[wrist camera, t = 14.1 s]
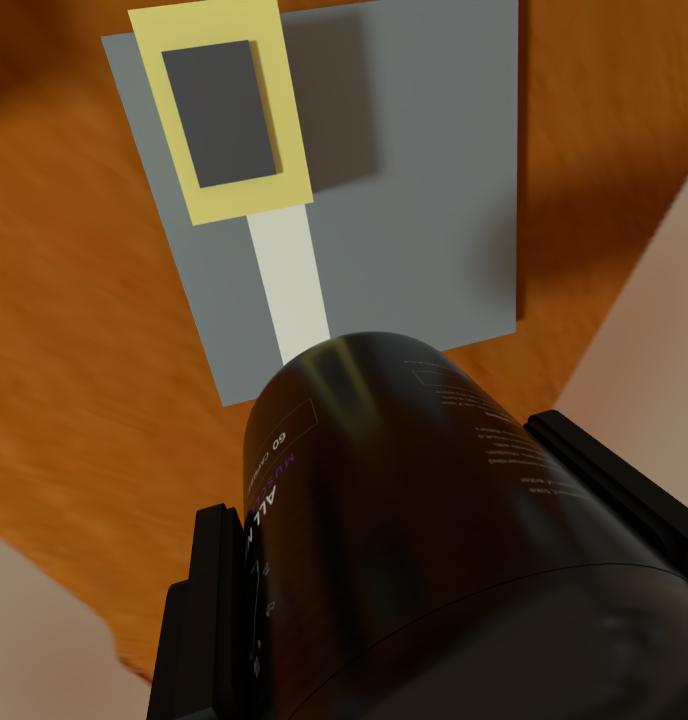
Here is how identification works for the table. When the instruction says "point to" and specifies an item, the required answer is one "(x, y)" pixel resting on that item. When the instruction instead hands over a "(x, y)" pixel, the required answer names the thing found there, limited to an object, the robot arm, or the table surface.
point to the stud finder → (225, 105)
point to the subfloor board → (360, 190)
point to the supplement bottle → (438, 557)
